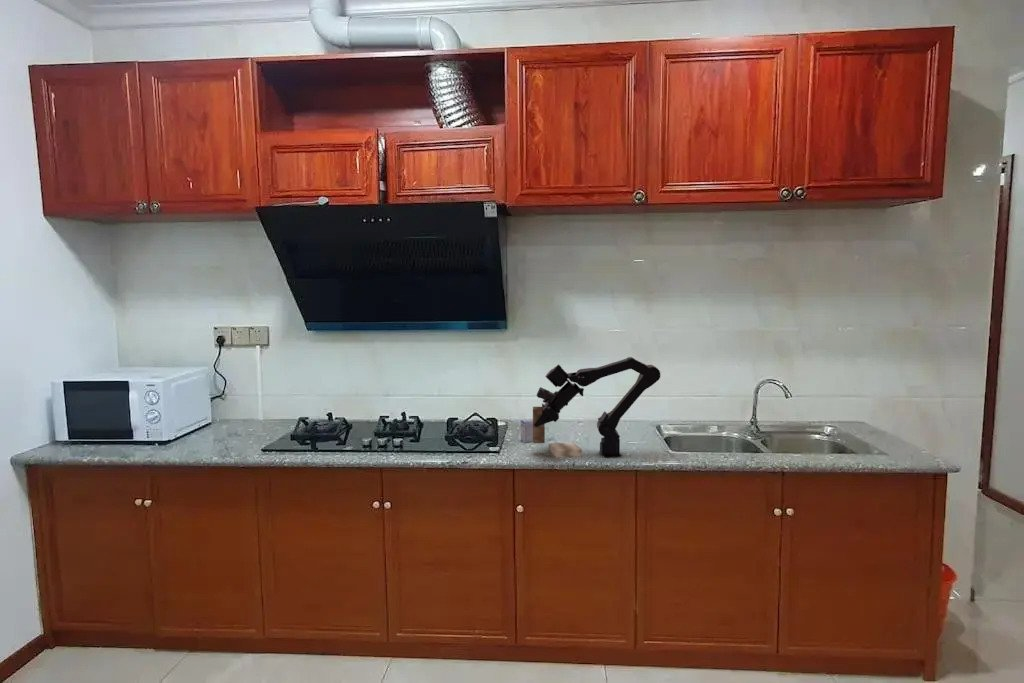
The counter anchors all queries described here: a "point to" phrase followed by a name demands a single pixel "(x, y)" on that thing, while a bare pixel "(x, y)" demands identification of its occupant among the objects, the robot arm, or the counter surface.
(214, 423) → the counter surface
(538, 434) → the walnut block
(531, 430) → the medicine box
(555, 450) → the birch block
